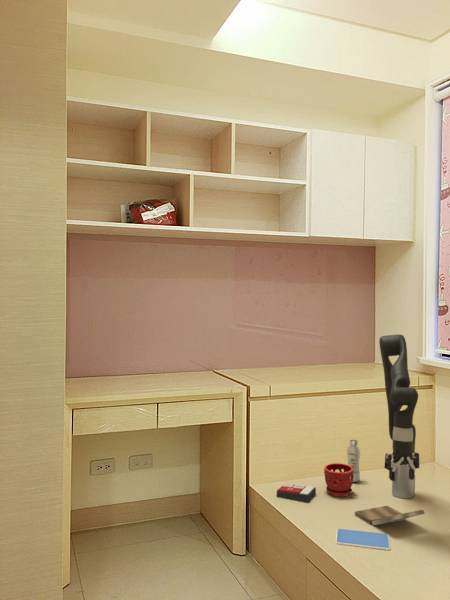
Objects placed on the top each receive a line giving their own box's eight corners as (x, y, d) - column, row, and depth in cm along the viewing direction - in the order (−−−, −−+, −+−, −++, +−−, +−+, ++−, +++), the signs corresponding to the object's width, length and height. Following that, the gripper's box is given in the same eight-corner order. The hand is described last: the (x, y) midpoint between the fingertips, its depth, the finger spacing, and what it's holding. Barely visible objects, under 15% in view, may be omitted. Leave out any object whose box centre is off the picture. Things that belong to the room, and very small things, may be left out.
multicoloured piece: (284, 481, 250) (315, 485, 243) (285, 491, 250) (316, 495, 243) (276, 489, 240) (308, 493, 233) (276, 499, 240) (308, 503, 233)
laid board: (387, 508, 228) (387, 505, 228) (403, 518, 219) (404, 514, 219) (354, 515, 221) (354, 511, 221) (370, 524, 212) (370, 520, 212)
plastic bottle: (352, 484, 256) (353, 443, 256) (343, 480, 262) (344, 439, 262) (363, 482, 259) (363, 441, 259) (353, 478, 265) (354, 438, 265)
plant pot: (328, 486, 254) (328, 461, 254) (355, 491, 248) (356, 465, 248) (320, 495, 242) (320, 469, 242) (349, 500, 237) (349, 473, 236)
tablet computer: (335, 545, 195) (335, 542, 195) (336, 530, 207) (336, 527, 207) (390, 552, 190) (390, 548, 190) (388, 536, 203) (388, 533, 203)
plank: (405, 518, 218) (404, 514, 218) (424, 513, 208) (423, 509, 209) (372, 525, 211) (371, 521, 211) (391, 520, 201) (390, 516, 202)
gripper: (412, 435, 215) (411, 475, 215) (381, 436, 211) (380, 478, 210) (424, 439, 208) (423, 481, 207) (392, 441, 203) (391, 484, 203)
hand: (401, 479), depth 209 cm, fingers open, 8 cm apart
